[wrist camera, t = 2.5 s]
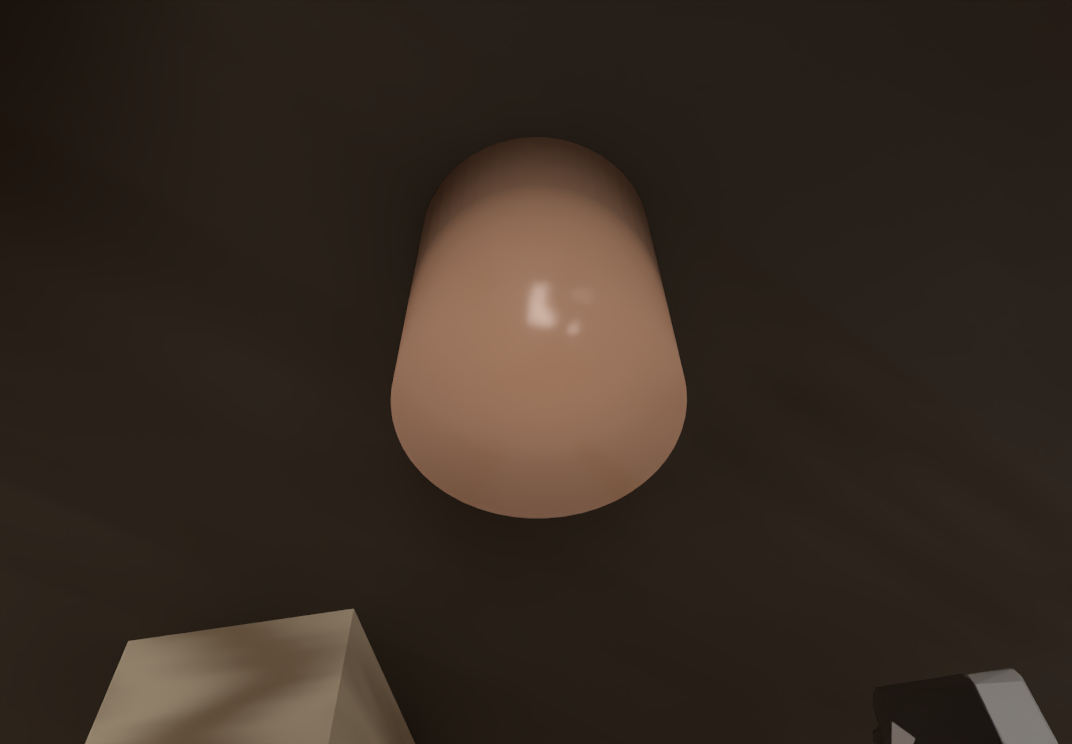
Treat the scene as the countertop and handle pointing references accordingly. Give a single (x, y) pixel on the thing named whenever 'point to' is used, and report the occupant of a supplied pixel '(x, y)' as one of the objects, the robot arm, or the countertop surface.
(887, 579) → the countertop surface
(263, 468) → the countertop surface
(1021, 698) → the robot arm
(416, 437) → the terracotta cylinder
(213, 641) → the tower base
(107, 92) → the countertop surface
